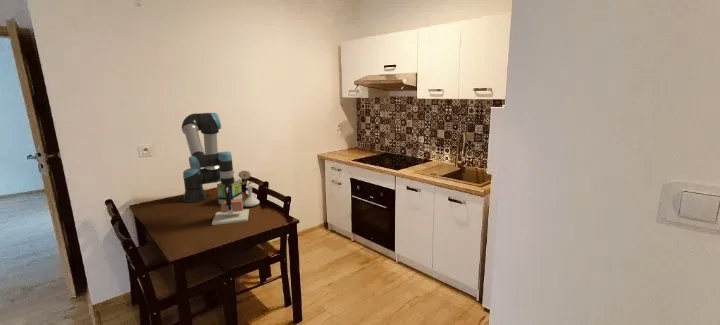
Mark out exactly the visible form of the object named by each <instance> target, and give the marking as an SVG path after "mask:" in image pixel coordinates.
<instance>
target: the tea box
mask: <svg viewBox="0 0 720 325" xmlns="http://www.w3.org/2000/svg"><path fill="white" fill-rule="evenodd" d="M241 182H242V178H239V179H237V178H234V183H233V184H232V194H233V199H243V190H242V184H240V183H241ZM216 186H217V197H218V204H219V205H221V202H222V201H224V200H226V195H225V186H226V185H223V184H221V182H218V183H217V184H216Z"/></svg>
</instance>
